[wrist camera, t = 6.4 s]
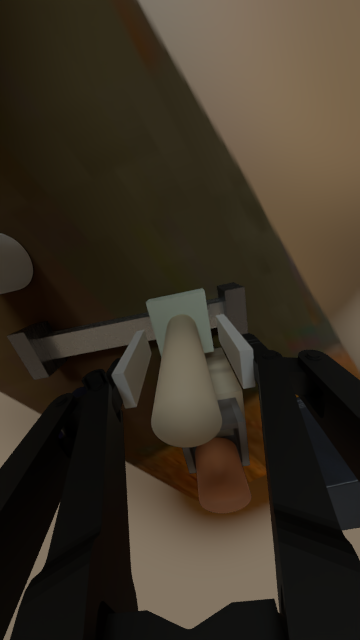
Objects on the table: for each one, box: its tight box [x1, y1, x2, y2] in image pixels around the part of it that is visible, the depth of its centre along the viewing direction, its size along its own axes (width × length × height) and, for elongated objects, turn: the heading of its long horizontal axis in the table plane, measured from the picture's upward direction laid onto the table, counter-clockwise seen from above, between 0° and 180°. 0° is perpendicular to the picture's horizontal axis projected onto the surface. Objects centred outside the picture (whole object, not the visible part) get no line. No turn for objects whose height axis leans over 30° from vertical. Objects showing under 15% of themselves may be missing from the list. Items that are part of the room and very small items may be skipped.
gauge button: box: [195, 437, 251, 513], centre depth 13 cm, size 4×4×3 cm
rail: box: [7, 282, 248, 380], centre depth 20 cm, size 6×26×4 cm, turn 102°
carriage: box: [146, 288, 222, 448], centre depth 14 cm, size 7×6×14 cm
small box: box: [297, 397, 360, 530], centre depth 23 cm, size 11×6×10 cm, turn 25°
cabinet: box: [182, 348, 250, 474], centre depth 19 cm, size 7×7×10 cm
